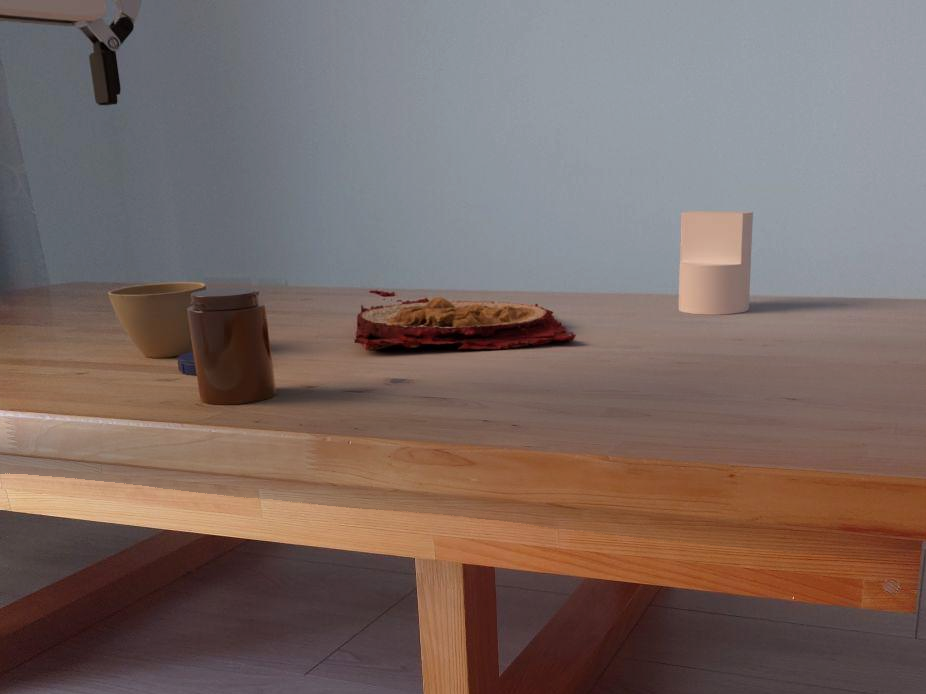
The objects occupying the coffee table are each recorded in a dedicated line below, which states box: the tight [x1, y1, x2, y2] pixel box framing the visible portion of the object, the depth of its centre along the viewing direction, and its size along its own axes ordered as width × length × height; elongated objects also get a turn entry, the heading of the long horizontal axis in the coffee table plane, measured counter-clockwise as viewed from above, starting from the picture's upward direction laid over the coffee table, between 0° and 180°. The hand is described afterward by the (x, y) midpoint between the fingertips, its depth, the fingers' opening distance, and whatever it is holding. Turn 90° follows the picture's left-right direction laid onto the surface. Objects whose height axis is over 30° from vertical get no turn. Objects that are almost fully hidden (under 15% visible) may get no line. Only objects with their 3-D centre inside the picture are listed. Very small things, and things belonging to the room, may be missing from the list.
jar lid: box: [177, 351, 197, 376], centre depth 103 cm, size 7×7×1 cm
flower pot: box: [107, 281, 207, 359], centre depth 110 cm, size 10×10×7 cm
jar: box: [187, 287, 277, 406], centre depth 89 cm, size 7×7×9 cm
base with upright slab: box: [678, 210, 754, 316], centre depth 129 cm, size 9×9×12 cm
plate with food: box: [353, 289, 577, 351], centre depth 119 cm, size 24×26×4 cm
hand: (46, 102), depth 81 cm, fingers open, 9 cm apart
